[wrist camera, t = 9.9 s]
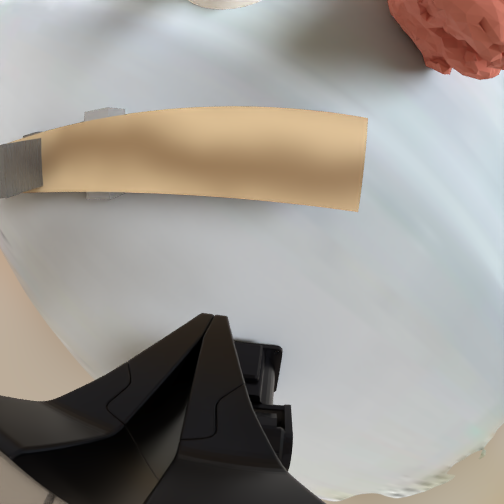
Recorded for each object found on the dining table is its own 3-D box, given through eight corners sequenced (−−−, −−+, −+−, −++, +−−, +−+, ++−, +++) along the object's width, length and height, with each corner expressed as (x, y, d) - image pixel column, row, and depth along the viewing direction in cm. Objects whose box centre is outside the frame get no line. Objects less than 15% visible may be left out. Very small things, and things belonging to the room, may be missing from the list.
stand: (334, 205, 20) (340, 213, 18) (31, 195, 22) (16, 201, 20) (342, 110, 17) (350, 106, 15) (29, 130, 19) (12, 132, 17)
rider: (43, 186, 17) (6, 198, 14) (7, 188, 19) (-23, 198, 15) (41, 138, 16) (3, 144, 12) (5, 148, 17) (-26, 155, 13)
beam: (353, 205, 15) (357, 211, 14) (19, 189, 20) (8, 193, 19) (362, 120, 13) (367, 118, 12) (16, 142, 18) (5, 144, 17)
